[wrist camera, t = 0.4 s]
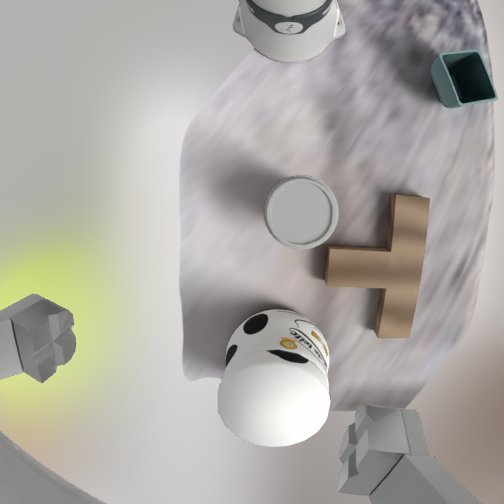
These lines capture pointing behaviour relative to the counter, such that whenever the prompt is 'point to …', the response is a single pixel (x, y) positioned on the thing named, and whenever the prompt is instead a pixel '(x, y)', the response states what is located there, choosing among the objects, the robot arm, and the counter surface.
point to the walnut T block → (388, 266)
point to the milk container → (275, 379)
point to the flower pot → (462, 79)
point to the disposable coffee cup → (301, 212)
